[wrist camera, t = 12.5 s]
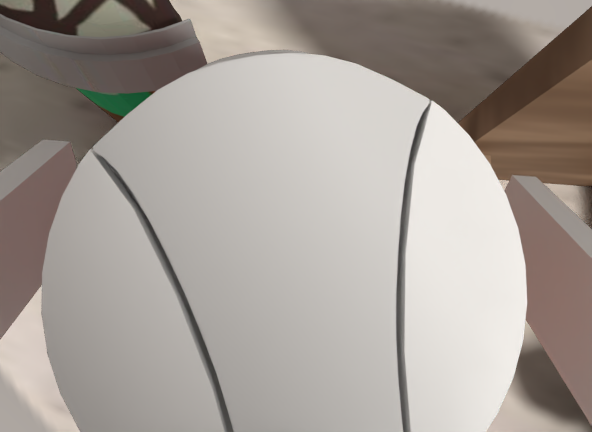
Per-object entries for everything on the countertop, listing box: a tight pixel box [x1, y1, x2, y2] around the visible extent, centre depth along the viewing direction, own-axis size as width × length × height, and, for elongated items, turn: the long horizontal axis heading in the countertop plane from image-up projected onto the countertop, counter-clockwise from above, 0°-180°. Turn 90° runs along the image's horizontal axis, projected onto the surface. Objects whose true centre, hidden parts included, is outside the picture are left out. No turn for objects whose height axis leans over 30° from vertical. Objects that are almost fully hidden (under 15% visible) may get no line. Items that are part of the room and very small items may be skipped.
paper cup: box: [41, 50, 527, 432], centre depth 12 cm, size 8×8×14 cm
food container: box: [0, 0, 207, 122], centre depth 16 cm, size 12×6×10 cm, turn 29°
